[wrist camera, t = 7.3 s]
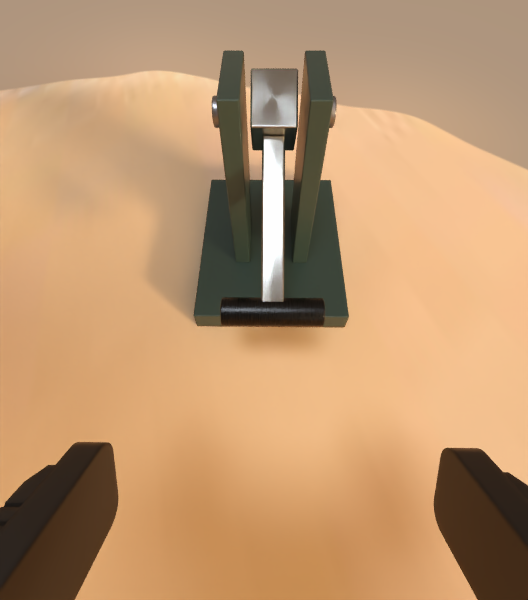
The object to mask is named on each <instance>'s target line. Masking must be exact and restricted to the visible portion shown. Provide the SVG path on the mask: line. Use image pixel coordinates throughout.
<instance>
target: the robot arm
mask: <svg viewBox="0 0 528 600" xmlns="http://www.w3.org/2000/svg"><path fill="white" fill-rule="evenodd" d="M117 506H118V488H117V479H116V471H115V462H114V454H113V448H112V445H111V444H110V443H104V442H77V443H75V444H73V445H72V446H71V447H70V449H69V450H68V451H67V452H66V453H65V454H64V456H63V457H62V458H61V459H60V460H59V461H58V463H57V464H56V465H48V466H46V467H45V468H44V469H42V470H41V471H39V472H38V473H36V474H35V475H33V476H32V477H31V478H29V479H28V480H26V481H25V482H24V483H23V484H22V485H21V486H20V487H19V488H18V489H17V490H16V491H15V492H14V494H13V495H12V496H11V497H10V498H9V499H8V500H7V501H6V502H5V506H4V507H1V508H0V600H75V598H76V596H77V594H78V592H79V590H80V588H81V586H82V584H83V582H84V580H85V578H86V576H87V574H88V572H89V570H90V568H91V566H92V564H93V562H94V560H95V558H96V556H97V554H98V552H99V550H100V548H101V546H102V544H103V542H104V540H105V538H106V536H107V534H108V532H109V530H110V528H111V526H112V524H113V521H114V519H115V515H116V512H117ZM434 512H435V517H436V521H437V524H438V527H439V529H440V531H441V533H442V535H443V537H444V539H445V541H446V542H447V544H448V546H449V548H450V550H451V552H452V553H453V555H454V557H455V559H456V561H457V563H458V564H459V566H460V568H461V570H462V572H463V574H464V575H465V577H466V579H467V581H468V583H469V585H470V586H471V588H472V590H473V592H474V594H475V596H476V597H477V599H478V600H528V485H526V484H525V483H523V482H522V481H520V480H519V479H517V478H516V477H514V476H513V475H511V474H510V473H509V472H502V471H501V470H500V468H499V467H498V466H497V465H496V464H495V463H494V462H493V461H492V460H491V459H490V457H489V456H488V455H487V454H486V453H485V452H484V451H482V450H481V449H478V448H445V449H444V450H443V451H442V453H441V458H440V464H439V471H438V477H437V484H436V490H435V496H434Z"/></svg>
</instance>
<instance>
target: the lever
mask: <svg viewBox="0 0 528 600" xmlns="http://www.w3.org/2000/svg"><path fill="white" fill-rule="evenodd" d="M250 127H251V137H252V148H253V150H262V264H261V297H223V298H222V299H221V305H220V320H221V325H222V326H255V327H323V325H324V322H325V303H324V299H323V298H284V217H285V150H294V145H295V139H296V133H297V127H298V70H297V69H251V126H250Z"/></svg>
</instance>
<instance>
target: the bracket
mask: <svg viewBox="0 0 528 600" xmlns="http://www.w3.org/2000/svg"><path fill="white" fill-rule="evenodd" d="M304 59H305V60H304V70H303V81H302V93H301V104H300V116H299V127H298V138H297V150H296V161H295V173H294V180H285V217H284V298H323V299H324V303H325V322H324V325H323V327H345V324H346V322H347V320H348V318H349V314H348V307H347V299H346V292H345V284H344V277H343V269H342V262H341V254H340V247H339V239H338V232H337V224H336V217H335V209H334V202H333V194H332V187H331V181H330V180H320V179H321V173H322V167H323V161H324V156H325V150H326V144H327V138H328V132H329V128H332V127H333V126H334V122H335V117H336V98H335V96H333V94H332V88H331V83H330V76H329V70H328V64H327V58H326V52H325V51H306V52H305V58H304ZM212 117H213V124H214V127H216V128H219V129H220V137H221V145H222V153H223V161H224V169H225V178H226V180H212V181H211V189H210V196H209V204H208V211H207V219H206V226H205V234H204V241H203V249H202V256H201V264H200V271H199V279H198V287H197V294H196V302H195V309H194V318H195V320H196V323H197V326H222V325H221V320H220V305H221V299H222V298H223V297H261V264H262V180H250V173H249V153H248V132H247V111H246V91H245V70H244V52H243V51H224V52H223V58H222V65H221V71H220V78H219V85H218V91H217V96H213V98H212Z"/></svg>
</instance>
